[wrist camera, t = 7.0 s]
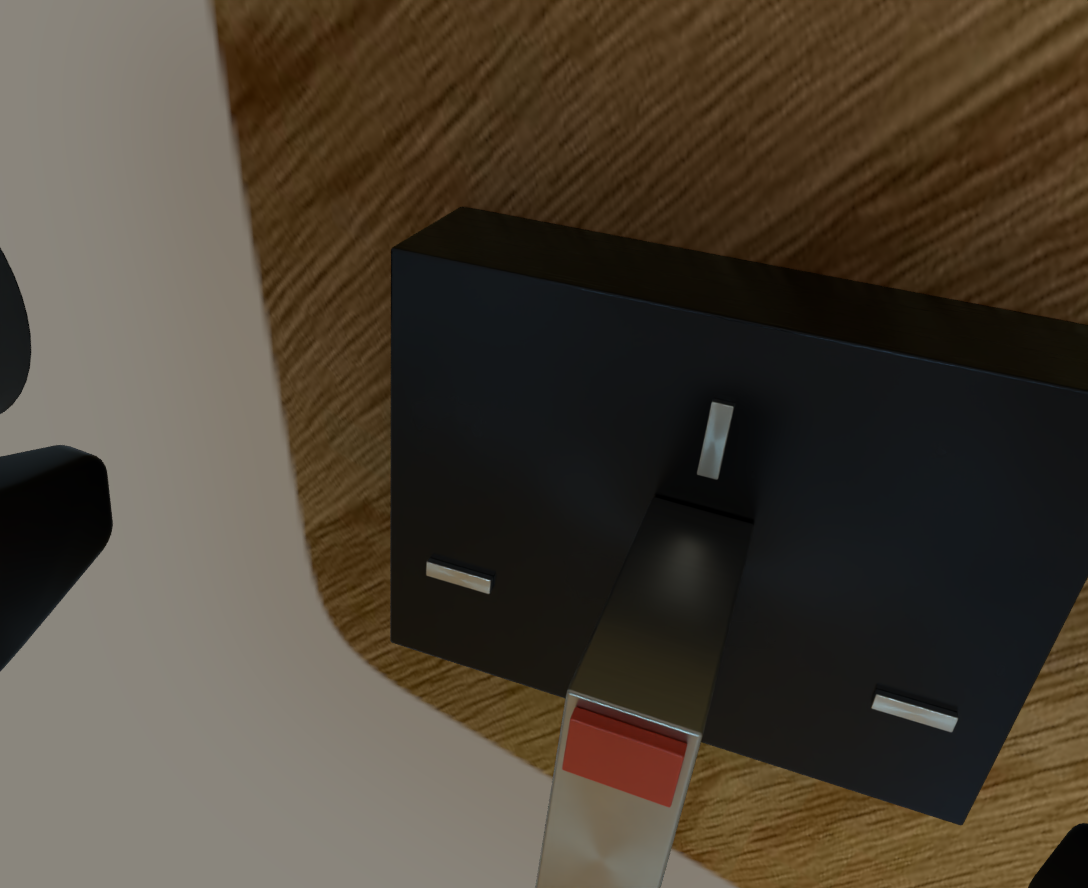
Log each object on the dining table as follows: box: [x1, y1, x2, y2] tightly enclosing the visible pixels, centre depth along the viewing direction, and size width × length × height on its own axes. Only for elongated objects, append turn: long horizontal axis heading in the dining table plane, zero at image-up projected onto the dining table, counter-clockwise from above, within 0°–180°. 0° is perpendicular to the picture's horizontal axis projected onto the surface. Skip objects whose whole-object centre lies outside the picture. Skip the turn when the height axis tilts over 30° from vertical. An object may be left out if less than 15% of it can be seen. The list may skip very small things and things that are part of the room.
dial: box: [535, 497, 754, 888], centre depth 15 cm, size 6×2×5 cm, turn 174°
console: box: [391, 207, 1088, 825], centre depth 18 cm, size 12×12×3 cm
